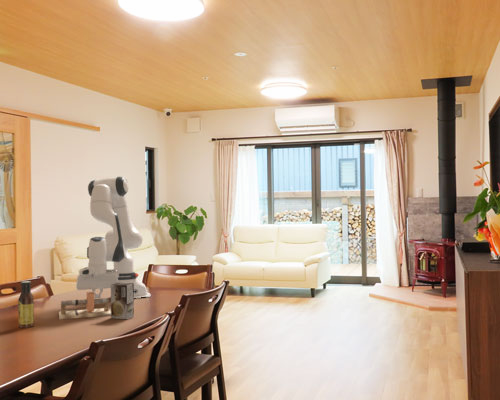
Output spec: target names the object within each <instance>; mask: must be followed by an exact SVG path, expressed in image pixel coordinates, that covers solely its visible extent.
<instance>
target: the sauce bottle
mask: <svg viewBox="0 0 500 400" xmlns="http://www.w3.org/2000/svg"><path fill="white" fill-rule="evenodd" d="M31 286H32V281H31V280H30V281H29V280H23V281H21V282H20V287H21V289H20V290H21V291H20V295H19V297H18V300H17V301H18V302H17V303H18V304H17V305H18V307H17V308H18V309H17V312H18V320H17V321H18V327H19V328H21V329H26V328H28V329H29V328H31V327H34V325H35V324H34V322H35V314H34V313H35V307H34V306H35V303H34V295H33V294H32V292H31V291H32V290H31V289H32V288H31Z"/></svg>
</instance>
